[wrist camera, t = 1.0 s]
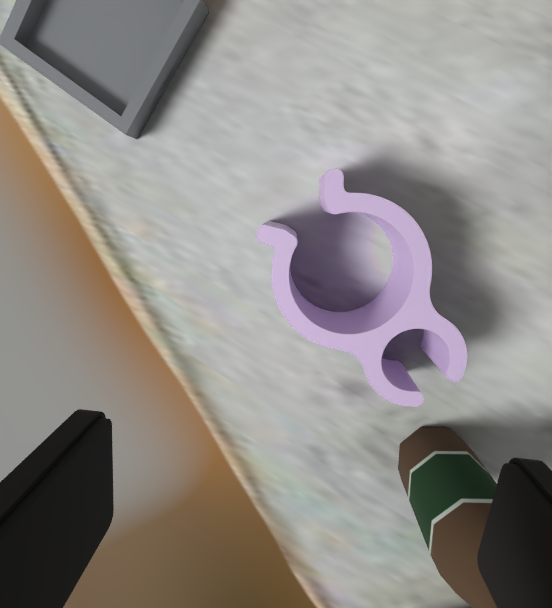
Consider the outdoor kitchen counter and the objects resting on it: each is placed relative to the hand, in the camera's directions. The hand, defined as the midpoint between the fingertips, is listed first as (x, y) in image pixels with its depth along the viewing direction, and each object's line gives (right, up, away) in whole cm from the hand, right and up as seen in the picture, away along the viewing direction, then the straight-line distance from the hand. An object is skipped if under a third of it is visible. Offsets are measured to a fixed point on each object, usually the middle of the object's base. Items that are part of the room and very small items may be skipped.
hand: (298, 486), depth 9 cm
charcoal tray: (-14, +27, +24) cm, 39 cm away
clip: (+7, +6, +29) cm, 30 cm away
